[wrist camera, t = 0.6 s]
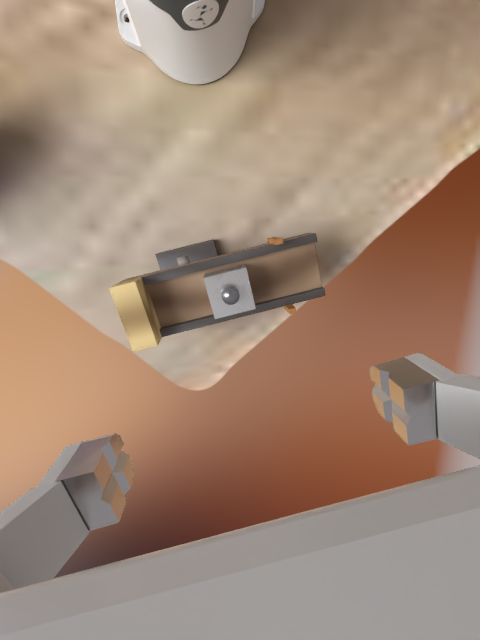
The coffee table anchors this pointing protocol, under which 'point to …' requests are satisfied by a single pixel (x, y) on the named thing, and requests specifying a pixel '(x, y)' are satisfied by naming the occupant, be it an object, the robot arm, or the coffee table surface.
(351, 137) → the coffee table surface
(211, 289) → the rider
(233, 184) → the coffee table surface
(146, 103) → the coffee table surface
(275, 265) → the grey gold rectangular frame
